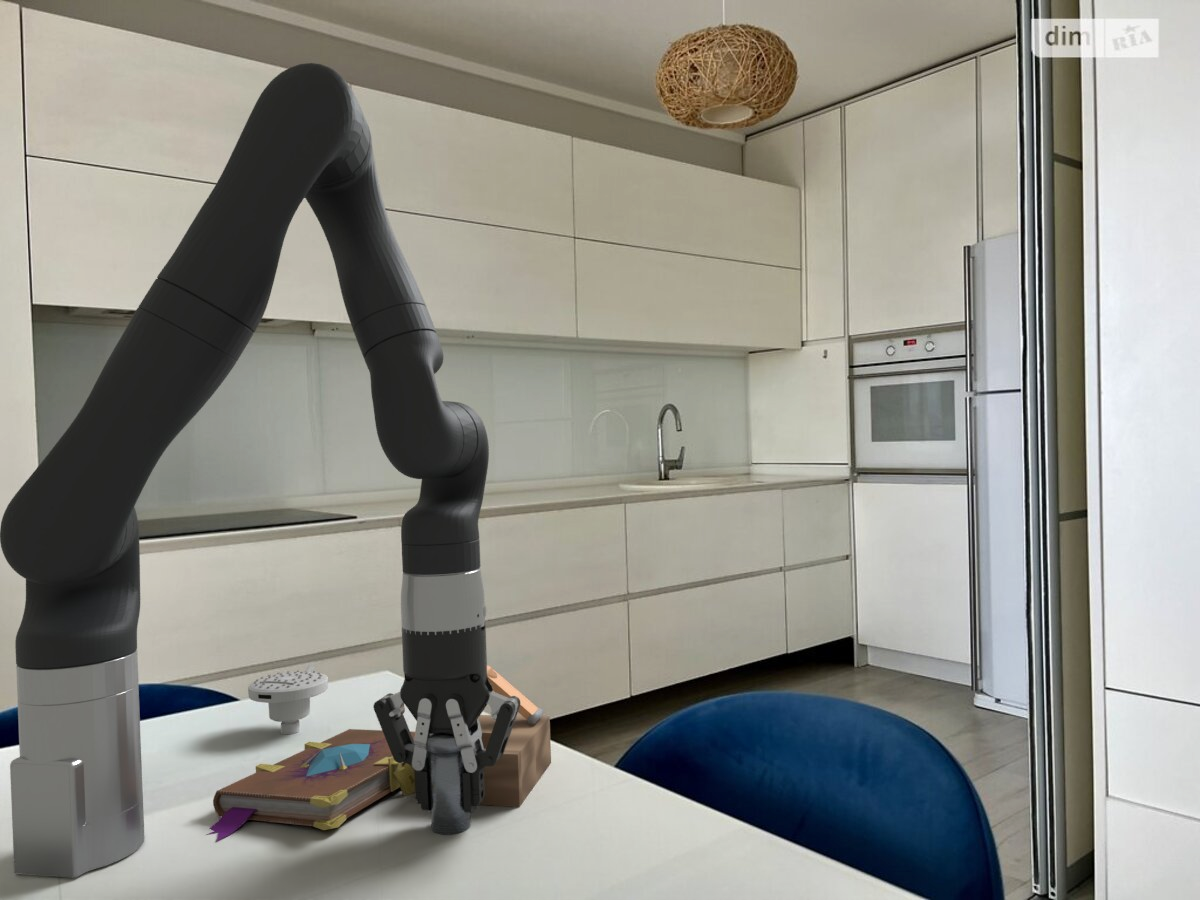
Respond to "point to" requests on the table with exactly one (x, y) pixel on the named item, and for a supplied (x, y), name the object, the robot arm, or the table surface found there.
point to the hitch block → (516, 761)
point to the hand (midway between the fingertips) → (450, 807)
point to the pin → (446, 785)
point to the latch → (508, 690)
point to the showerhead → (288, 695)
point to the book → (316, 784)
